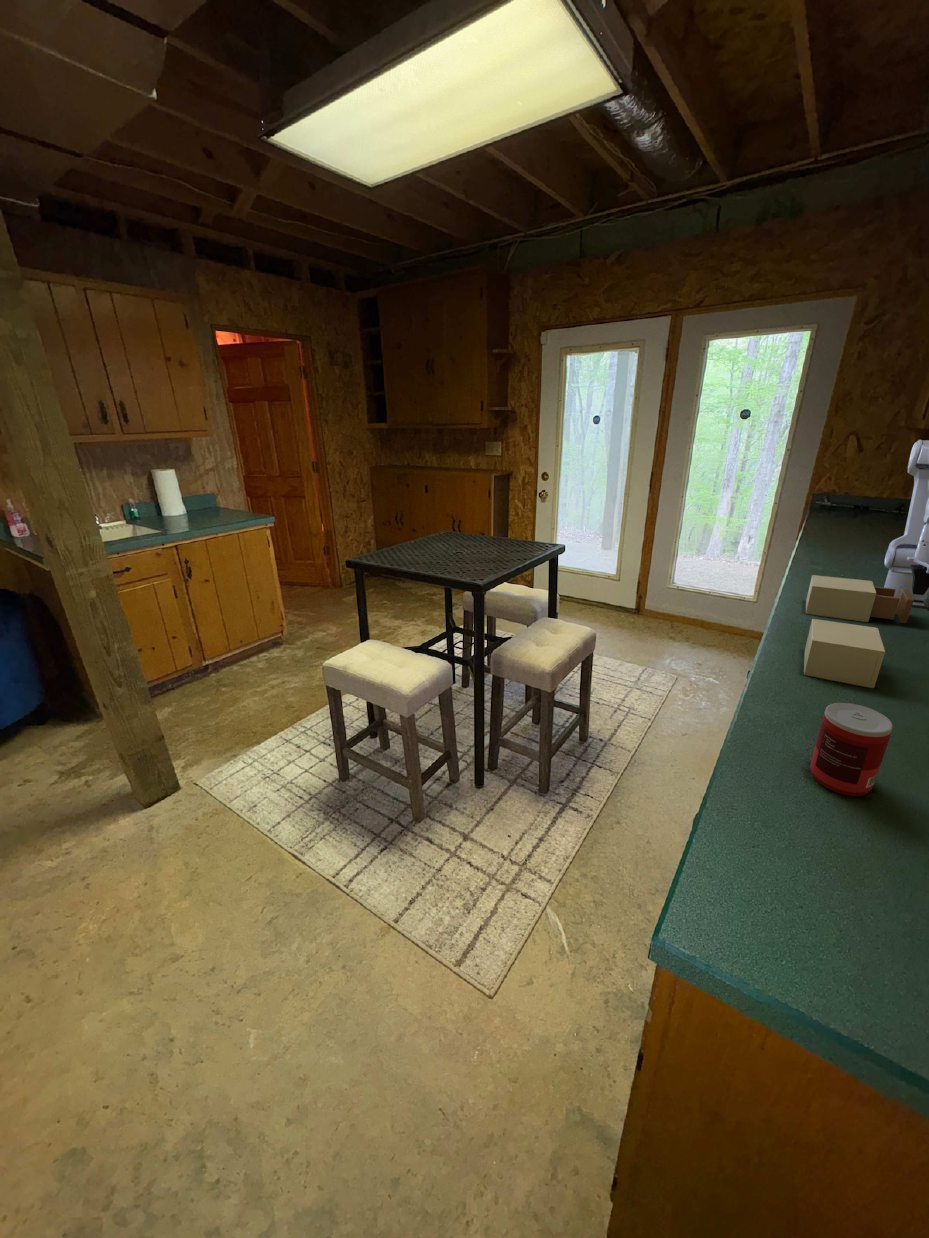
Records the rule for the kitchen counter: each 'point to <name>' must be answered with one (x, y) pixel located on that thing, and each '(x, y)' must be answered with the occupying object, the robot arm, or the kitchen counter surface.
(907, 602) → the drawer
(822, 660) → the cardboard box
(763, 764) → the kitchen counter surface
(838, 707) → the canned food
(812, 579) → the cardboard box
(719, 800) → the kitchen counter surface
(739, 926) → the kitchen counter surface
